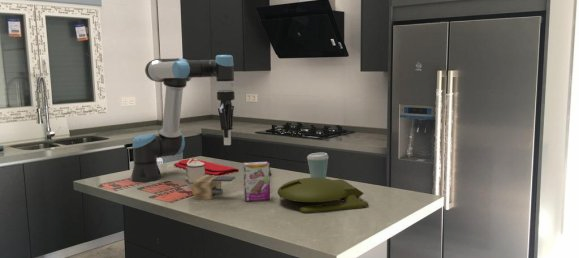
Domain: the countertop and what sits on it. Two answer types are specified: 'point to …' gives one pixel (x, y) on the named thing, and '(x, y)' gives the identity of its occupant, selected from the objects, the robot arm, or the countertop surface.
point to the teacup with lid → (195, 170)
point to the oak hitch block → (205, 187)
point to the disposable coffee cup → (318, 164)
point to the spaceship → (322, 194)
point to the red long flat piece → (209, 167)
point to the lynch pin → (214, 191)
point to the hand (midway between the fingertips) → (227, 144)
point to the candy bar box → (256, 181)
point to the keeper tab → (223, 178)
